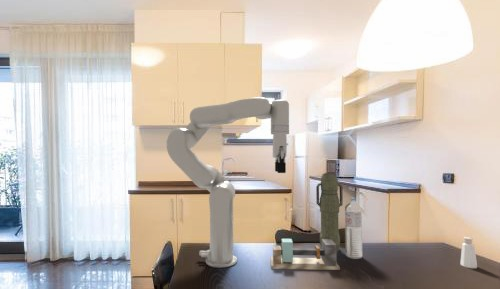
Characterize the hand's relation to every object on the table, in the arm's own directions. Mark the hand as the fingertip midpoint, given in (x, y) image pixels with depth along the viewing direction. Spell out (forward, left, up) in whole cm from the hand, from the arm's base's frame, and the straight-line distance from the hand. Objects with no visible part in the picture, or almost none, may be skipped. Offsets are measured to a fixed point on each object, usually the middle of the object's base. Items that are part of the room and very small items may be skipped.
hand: (280, 172), depth 111 cm
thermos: (+24, +17, -37) cm, 47 cm away
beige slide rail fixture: (+9, -1, -37) cm, 38 cm away
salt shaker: (+74, 0, -37) cm, 83 cm away
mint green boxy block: (+3, -2, -35) cm, 35 cm away
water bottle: (+32, +8, -37) cm, 49 cm away
